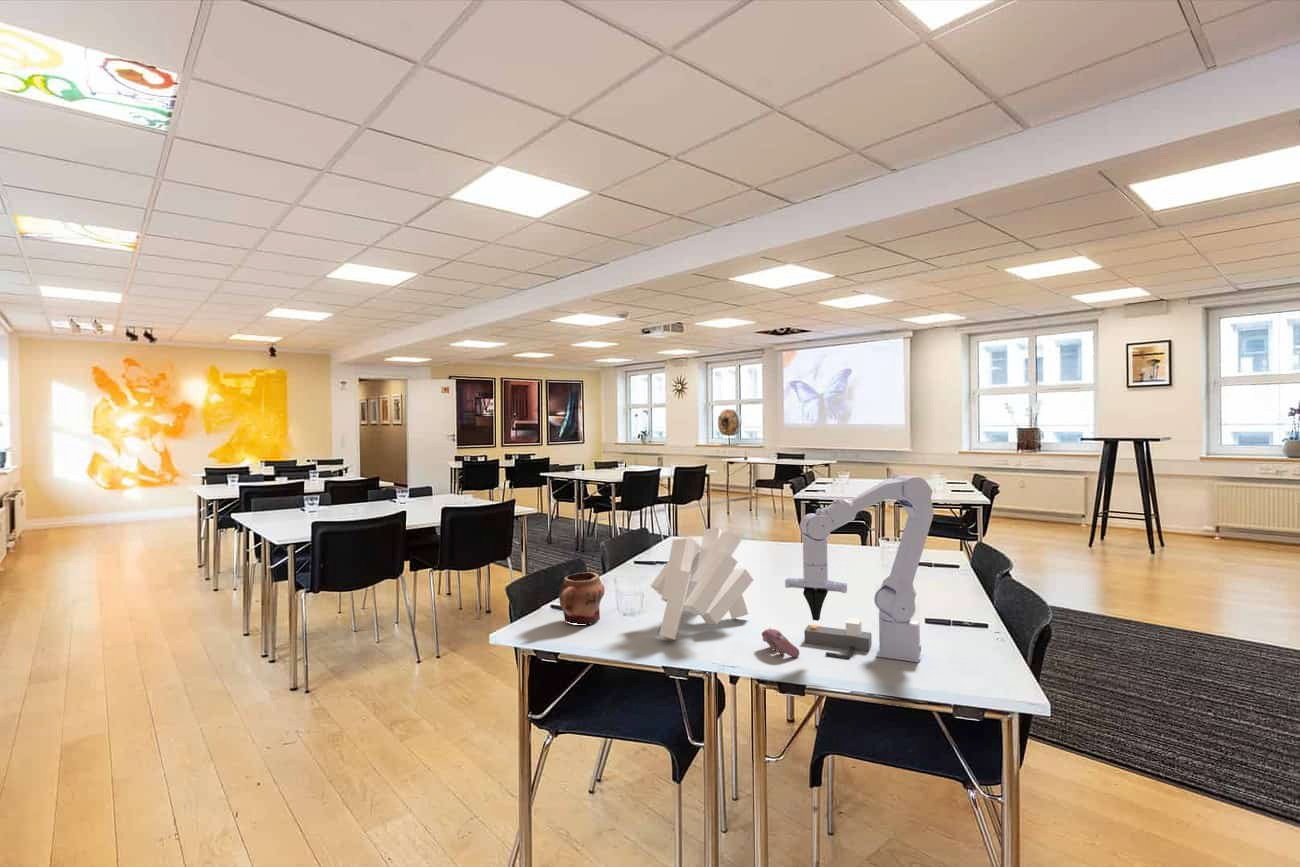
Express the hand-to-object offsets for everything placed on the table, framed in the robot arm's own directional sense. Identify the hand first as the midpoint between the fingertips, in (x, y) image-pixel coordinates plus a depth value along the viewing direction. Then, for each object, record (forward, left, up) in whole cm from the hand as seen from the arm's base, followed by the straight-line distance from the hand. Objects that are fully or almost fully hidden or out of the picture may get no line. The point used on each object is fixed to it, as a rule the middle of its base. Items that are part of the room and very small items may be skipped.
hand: (816, 619), depth 150 cm
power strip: (-3, -8, -9) cm, 13 cm away
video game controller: (+9, 0, -10) cm, 13 cm away
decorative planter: (+68, 0, -10) cm, 69 cm away
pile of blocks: (+35, -13, -10) cm, 39 cm away
